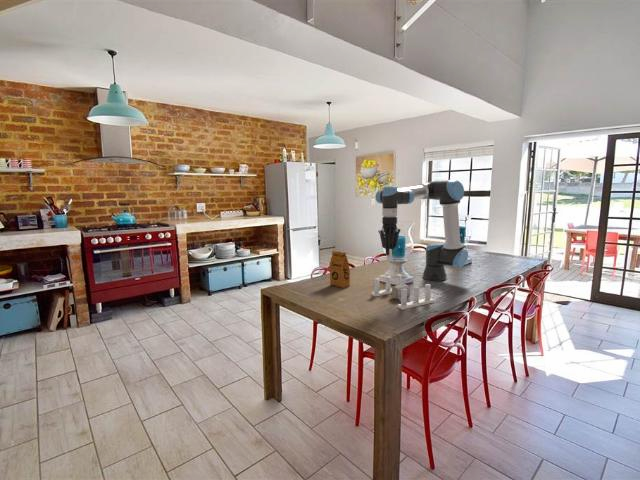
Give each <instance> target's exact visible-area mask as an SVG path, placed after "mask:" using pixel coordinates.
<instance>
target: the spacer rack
mask: <svg viewBox="0 0 640 480" xmlns="http://www.w3.org/2000/svg"><path fill="white" fill-rule="evenodd" d="M402 277H403V275H402V274H396V286H399V285H403V284H402V281H403V280H402ZM391 278H392V277H391V276H388V275H387V276H385V289H381V290H380V281H381V280H380V278H379V277H377V278H374V289H373V290H374V291H372V292H371V296H373V297H375V298H376V297H380V296H385V295H390V294H391V295H392V288H393V287H391V285H392V279H391ZM431 288H432V284H431V283H426V284H424V298H422V299H421V298H420V287H419V286H417V285H416V286H413V292H412V293H413V294H412V295H413V296H412V297H413V298H412V299H413V300H412V301H408V302H407V300H408V298H407V289H401V301H400V303H399V304H397V308H398V309H400V310H406V309H411V308H414V307H419V306H423V305H427V304H432V303H434V301H435V300H434V299H433V298H432V297H431V290H432V289H431Z"/></svg>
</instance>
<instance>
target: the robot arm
mask: <svg viewBox="0 0 640 480" xmlns="http://www.w3.org/2000/svg"><path fill="white" fill-rule="evenodd" d="M464 195H465V189H464V185H463V183H462V182H461V181H459V180H458V179H457V180H456V179H455V180H454V179H448V180H447V179H446V180H445V179H444V180H434V181H428V182H425V183H420V184H418V185H415V186H408V187H399V188H398V186H390V185H389V186H383V187H382V189H381V190H378V191H377V192H376V193H375V201H376V202H377V203H378V204H382V212H381V213H382V221H381V223H382V227H381V229H379V230H378V231H377V232H378V233H379V236H380V241H381V247H382V249H385V256H386V262H393V255H394V250H395V248H396V247H397V245H398V241H399V235H400V232H401V229H400V228H398V227H397V224H398V205H408V204H409V205H410V204H412V203H413V202H414V201H415V200H416V199H417V200H418V199H419V200H435V201H436V200H437V201H439V205H440V206H441V207H442V216H443V228H444V229H443V230H444V240H445V243H440V242H439V243H430V244H428V245H426V248H425V249H426V250H425V266H424V270H423V272H422V278H423V279H425V280H426V281H427V280H429V281H433V282H438V281H439V282H441V281H446V280H447V277H448V276H447V275H448V274H447V273H446V269H445V266H450V267H454V268H462V267H464V266H465V265H466V263H467V261H468V258H469V253H468V250H467V249H466V248H464V244H463V243H462V242H461V234H460V233H461V232H460V230H461V229H460V218H459V204H460V203H461V200H463V198H464Z"/></svg>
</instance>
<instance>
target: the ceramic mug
mask: <svg viewBox="0 0 640 480" xmlns="http://www.w3.org/2000/svg"><path fill="white" fill-rule="evenodd" d="M391 288H392V293H391V296H392V298H393V299H394V300H399V301H400V302H401V289H407V302H410V297H411V289H410V287H409V286H408V284H406V283H405V284H402V285H399V286H397V285H395V286H393V287H391Z"/></svg>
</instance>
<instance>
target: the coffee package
mask: <svg viewBox="0 0 640 480" xmlns="http://www.w3.org/2000/svg"><path fill="white" fill-rule="evenodd" d="M329 283H330V285H332V286H336V287H337V288H342V289H346V288H349V287H350V286H351V271H350V263H349V260H348V256H347V254H346V252H342V251H338V250H337V251H336V250H332V251H331V257H330V260H329Z"/></svg>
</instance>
